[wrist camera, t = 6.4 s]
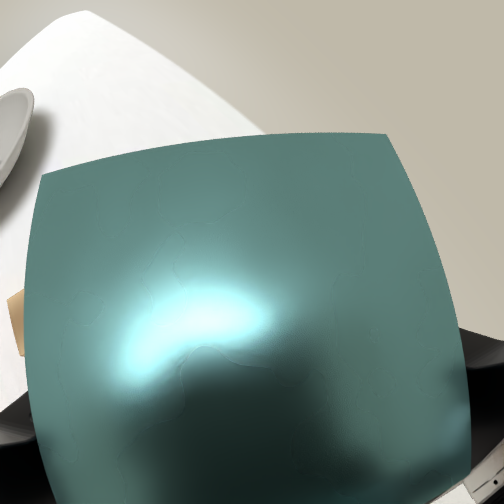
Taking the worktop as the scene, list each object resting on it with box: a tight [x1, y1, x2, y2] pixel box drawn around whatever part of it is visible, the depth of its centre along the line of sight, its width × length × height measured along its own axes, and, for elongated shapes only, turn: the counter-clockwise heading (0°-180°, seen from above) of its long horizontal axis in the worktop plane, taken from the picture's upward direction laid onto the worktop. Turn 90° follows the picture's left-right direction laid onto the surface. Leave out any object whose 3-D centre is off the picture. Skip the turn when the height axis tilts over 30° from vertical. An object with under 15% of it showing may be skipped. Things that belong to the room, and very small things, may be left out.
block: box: [7, 289, 25, 357], centre depth 16 cm, size 4×4×4 cm
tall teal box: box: [24, 133, 471, 504], centre depth 9 cm, size 6×6×12 cm
